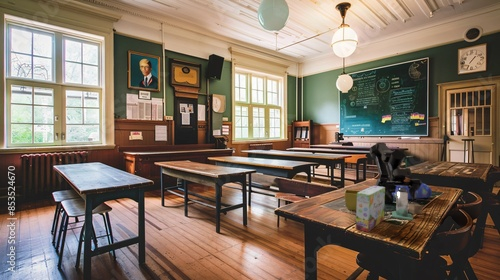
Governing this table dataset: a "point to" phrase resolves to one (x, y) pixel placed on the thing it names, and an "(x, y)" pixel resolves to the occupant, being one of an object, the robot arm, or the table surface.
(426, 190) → the pencil case
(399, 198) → the bottle
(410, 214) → the mat
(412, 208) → the walnut block
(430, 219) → the table surface
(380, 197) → the snack box
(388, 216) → the table surface
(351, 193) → the flower pot
